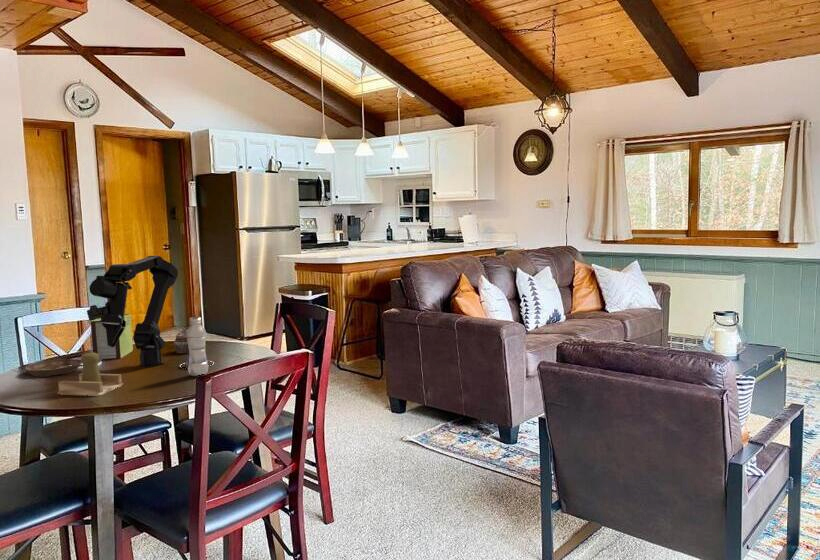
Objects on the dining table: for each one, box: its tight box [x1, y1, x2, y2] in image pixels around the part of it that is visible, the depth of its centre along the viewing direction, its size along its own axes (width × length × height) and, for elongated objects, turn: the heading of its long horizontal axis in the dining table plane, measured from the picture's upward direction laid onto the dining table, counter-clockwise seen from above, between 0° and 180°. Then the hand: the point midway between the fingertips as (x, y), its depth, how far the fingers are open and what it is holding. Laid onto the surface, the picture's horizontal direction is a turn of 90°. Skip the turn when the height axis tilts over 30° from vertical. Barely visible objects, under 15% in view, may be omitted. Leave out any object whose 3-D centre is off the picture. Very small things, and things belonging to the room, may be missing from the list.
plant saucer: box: [24, 358, 82, 377], centre depth 219 cm, size 18×18×3 cm
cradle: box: [57, 373, 124, 397], centre depth 194 cm, size 12×14×4 cm
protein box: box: [89, 313, 134, 360], centre depth 244 cm, size 10×15×16 cm
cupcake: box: [173, 326, 190, 354], centre depth 248 cm, size 10×10×10 cm
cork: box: [80, 352, 102, 382], centre depth 194 cm, size 6×6×11 cm
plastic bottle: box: [186, 316, 209, 377], centre depth 208 cm, size 6×7×20 cm
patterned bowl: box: [179, 354, 215, 370], centre depth 224 cm, size 12×12×5 cm
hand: (110, 346), depth 206 cm, fingers open, 9 cm apart
